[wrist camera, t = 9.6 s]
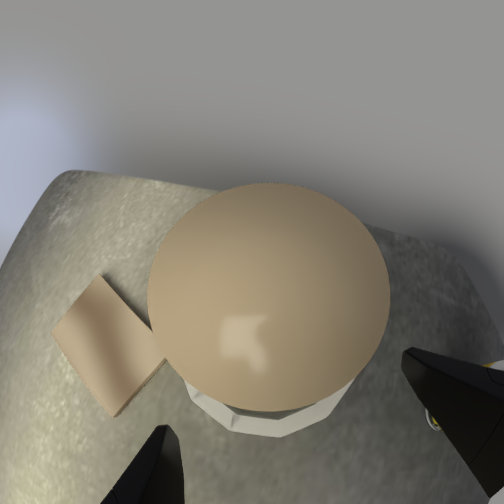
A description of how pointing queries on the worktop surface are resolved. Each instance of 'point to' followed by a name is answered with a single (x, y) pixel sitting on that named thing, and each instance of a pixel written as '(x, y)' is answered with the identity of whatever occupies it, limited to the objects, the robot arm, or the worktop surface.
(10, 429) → the worktop surface
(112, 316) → the cork coaster
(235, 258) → the spice jar
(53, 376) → the worktop surface
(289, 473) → the worktop surface
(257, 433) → the bowl
